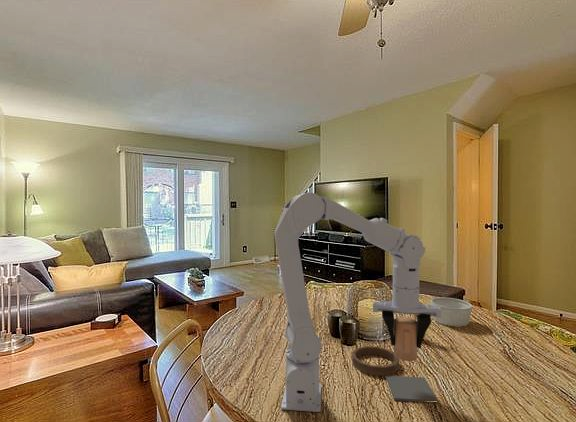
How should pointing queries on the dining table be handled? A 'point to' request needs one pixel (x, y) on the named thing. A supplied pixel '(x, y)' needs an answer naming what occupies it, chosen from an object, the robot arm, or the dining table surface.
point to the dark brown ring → (374, 368)
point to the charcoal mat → (410, 388)
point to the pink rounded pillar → (405, 338)
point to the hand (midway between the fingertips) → (405, 345)
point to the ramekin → (452, 311)
